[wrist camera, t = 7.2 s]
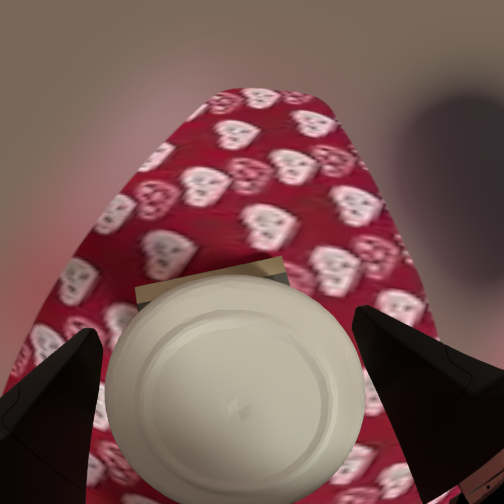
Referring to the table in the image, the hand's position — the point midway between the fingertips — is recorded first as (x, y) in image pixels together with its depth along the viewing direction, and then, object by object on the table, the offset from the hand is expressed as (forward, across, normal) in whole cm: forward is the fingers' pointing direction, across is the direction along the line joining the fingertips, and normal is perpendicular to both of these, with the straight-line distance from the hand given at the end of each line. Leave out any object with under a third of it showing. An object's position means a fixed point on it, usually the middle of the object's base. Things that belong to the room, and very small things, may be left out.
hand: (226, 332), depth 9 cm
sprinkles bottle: (+5, 0, +7) cm, 9 cm away
